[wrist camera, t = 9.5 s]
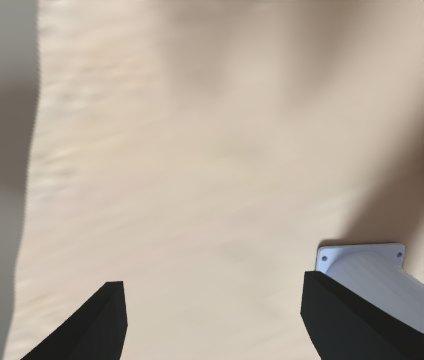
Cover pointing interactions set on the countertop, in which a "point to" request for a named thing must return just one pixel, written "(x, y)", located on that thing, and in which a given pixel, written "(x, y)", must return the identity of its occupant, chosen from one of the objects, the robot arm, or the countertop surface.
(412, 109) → the countertop surface
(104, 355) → the robot arm
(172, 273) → the countertop surface
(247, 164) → the countertop surface
